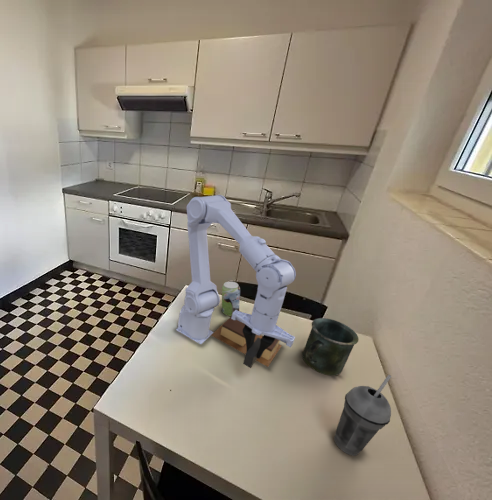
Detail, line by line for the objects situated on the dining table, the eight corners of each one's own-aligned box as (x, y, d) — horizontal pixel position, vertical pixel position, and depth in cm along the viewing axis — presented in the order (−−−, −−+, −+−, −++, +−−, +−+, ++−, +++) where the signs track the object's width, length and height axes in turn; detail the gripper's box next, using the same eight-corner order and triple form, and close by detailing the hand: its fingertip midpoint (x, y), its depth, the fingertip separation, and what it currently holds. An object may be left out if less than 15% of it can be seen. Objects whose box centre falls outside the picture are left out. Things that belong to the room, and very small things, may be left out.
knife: (242, 364, 70) (245, 353, 68) (268, 329, 82) (271, 319, 81) (250, 368, 68) (253, 357, 67) (275, 332, 81) (278, 323, 79)
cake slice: (256, 354, 82) (259, 343, 80) (266, 340, 87) (269, 330, 86) (268, 360, 80) (272, 349, 78) (277, 346, 85) (281, 336, 84)
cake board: (210, 336, 89) (210, 335, 88) (227, 320, 97) (228, 318, 97) (267, 368, 78) (267, 366, 78) (281, 347, 86) (281, 345, 86)
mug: (351, 370, 79) (367, 337, 74) (320, 388, 73) (335, 353, 68) (314, 345, 88) (327, 314, 83) (284, 359, 81) (295, 326, 76)
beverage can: (239, 320, 98) (246, 290, 93) (217, 316, 99) (223, 287, 94) (237, 309, 103) (243, 281, 98) (217, 306, 104) (222, 278, 100)
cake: (220, 334, 89) (222, 324, 87) (231, 323, 94) (233, 313, 93) (242, 346, 84) (245, 336, 83) (253, 334, 90) (255, 324, 88)
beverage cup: (319, 428, 63) (350, 361, 55) (349, 426, 63) (384, 360, 55) (343, 464, 56) (383, 393, 48) (376, 462, 57) (421, 392, 49)
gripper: (230, 302, 67) (220, 346, 73) (294, 331, 59) (278, 378, 64) (242, 292, 72) (232, 333, 78) (303, 317, 64) (287, 362, 69)
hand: (254, 353), depth 71 cm, fingers closed on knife, 2 cm apart
